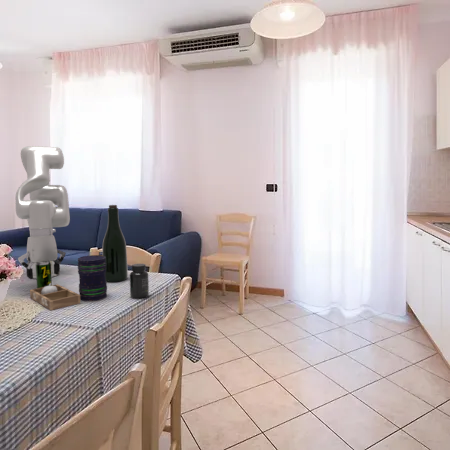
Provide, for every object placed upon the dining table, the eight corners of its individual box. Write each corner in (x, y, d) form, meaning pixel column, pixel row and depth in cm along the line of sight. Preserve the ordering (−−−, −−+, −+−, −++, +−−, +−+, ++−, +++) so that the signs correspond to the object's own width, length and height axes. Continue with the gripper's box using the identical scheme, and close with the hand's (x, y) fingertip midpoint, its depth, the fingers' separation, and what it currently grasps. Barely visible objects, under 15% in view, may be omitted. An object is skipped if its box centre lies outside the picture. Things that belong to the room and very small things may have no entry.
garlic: (49, 294, 137) (49, 281, 137) (61, 296, 136) (60, 282, 135) (37, 299, 131) (36, 285, 131) (49, 300, 130) (48, 286, 129)
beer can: (33, 291, 141) (32, 261, 139) (45, 288, 145) (43, 259, 144) (44, 293, 139) (42, 262, 137) (55, 289, 144) (53, 260, 142)
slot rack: (29, 297, 133) (29, 290, 133) (58, 291, 141) (57, 284, 140) (50, 310, 120) (49, 301, 120) (80, 303, 127) (80, 294, 127)
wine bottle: (115, 275, 166) (112, 203, 162) (132, 278, 161) (130, 204, 157) (97, 280, 157) (94, 205, 153) (115, 283, 152) (112, 205, 148)
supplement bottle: (147, 292, 140) (146, 262, 138) (149, 297, 133) (149, 266, 132) (129, 294, 137) (128, 263, 136) (130, 299, 131) (129, 267, 130)
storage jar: (95, 302, 128) (93, 261, 126) (73, 299, 131) (71, 259, 130) (112, 294, 137) (111, 256, 135) (92, 291, 141) (90, 254, 139)
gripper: (60, 230, 148) (62, 271, 149) (13, 234, 135) (16, 278, 137) (67, 231, 143) (70, 273, 144) (20, 235, 130) (23, 281, 132)
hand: (43, 276), depth 141 cm, fingers open, 9 cm apart
